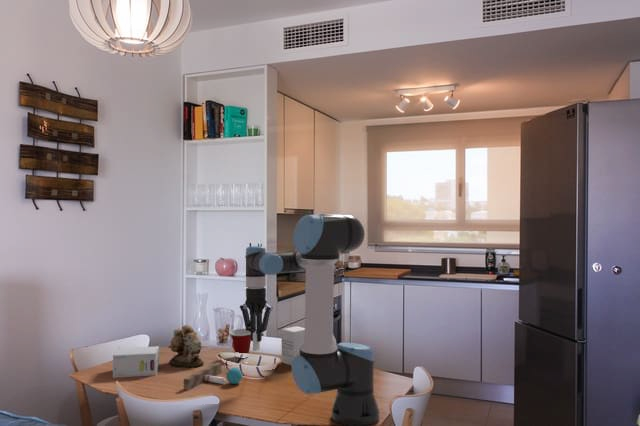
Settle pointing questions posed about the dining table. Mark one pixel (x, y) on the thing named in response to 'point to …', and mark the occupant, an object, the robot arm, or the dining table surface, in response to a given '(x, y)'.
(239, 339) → the plastic cup
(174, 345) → the brown lumpy figure
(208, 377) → the pin
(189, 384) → the stopper wall
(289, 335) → the supplement box
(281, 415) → the dining table surface
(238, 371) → the ball
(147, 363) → the supplement box
